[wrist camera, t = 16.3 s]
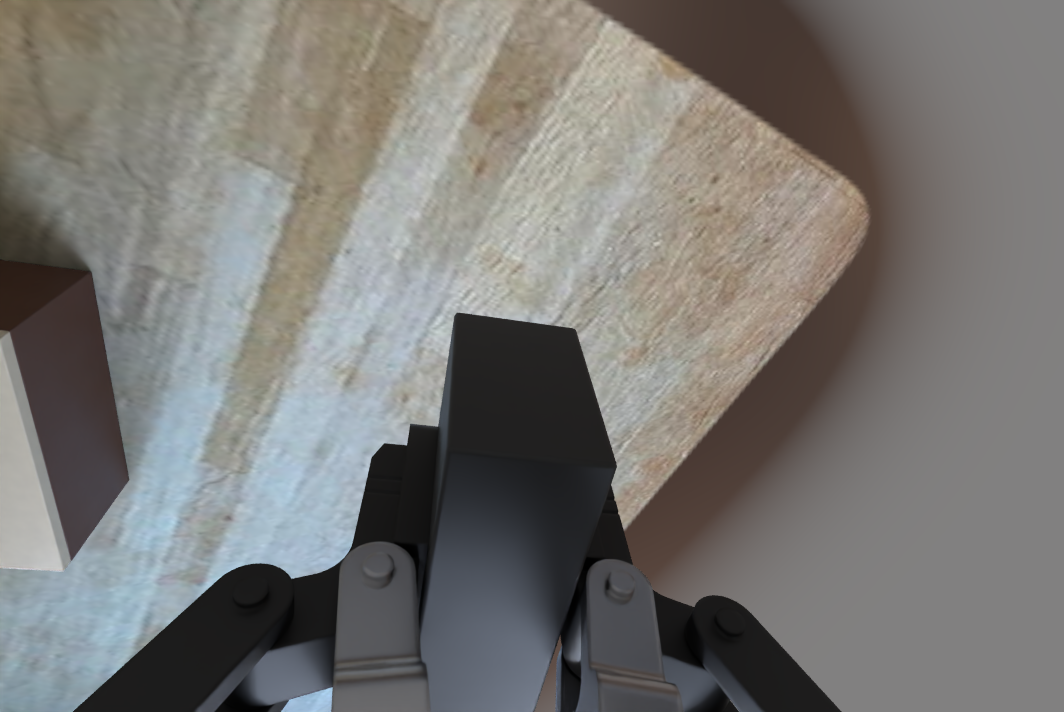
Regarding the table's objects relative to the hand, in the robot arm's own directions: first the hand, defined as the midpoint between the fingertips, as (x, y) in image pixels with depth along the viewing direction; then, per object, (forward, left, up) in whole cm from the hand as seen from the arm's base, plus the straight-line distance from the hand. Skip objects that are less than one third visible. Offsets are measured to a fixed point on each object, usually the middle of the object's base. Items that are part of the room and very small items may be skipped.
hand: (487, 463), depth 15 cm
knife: (+6, 0, 0) cm, 6 cm away
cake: (+10, -20, -15) cm, 27 cm away
